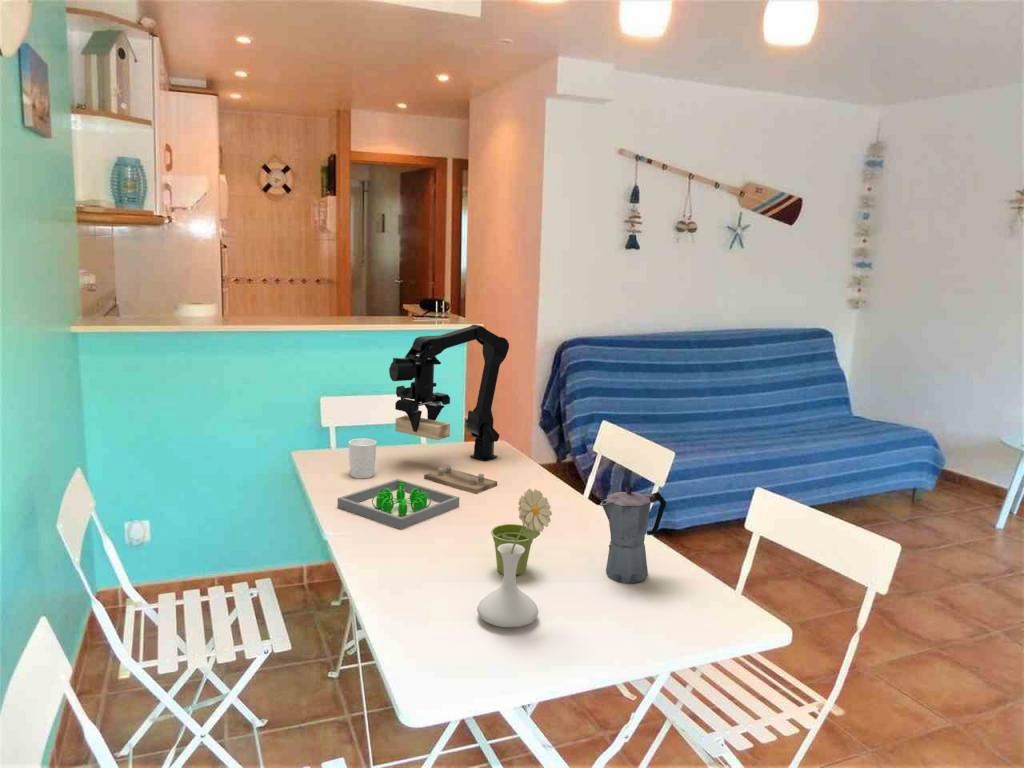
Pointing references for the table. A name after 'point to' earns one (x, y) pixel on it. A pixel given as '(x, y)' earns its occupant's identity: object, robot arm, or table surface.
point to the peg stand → (460, 480)
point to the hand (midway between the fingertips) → (422, 429)
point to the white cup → (362, 457)
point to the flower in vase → (508, 599)
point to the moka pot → (629, 533)
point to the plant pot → (511, 531)
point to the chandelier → (401, 500)
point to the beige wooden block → (423, 428)
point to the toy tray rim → (353, 506)
